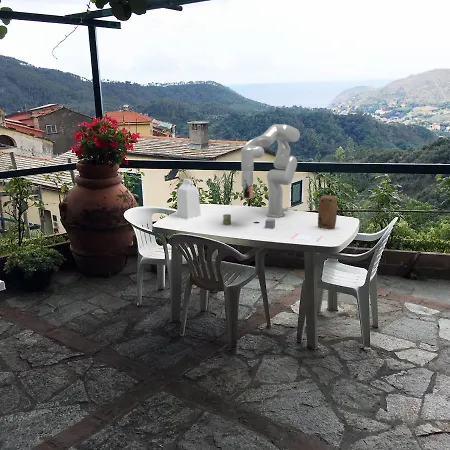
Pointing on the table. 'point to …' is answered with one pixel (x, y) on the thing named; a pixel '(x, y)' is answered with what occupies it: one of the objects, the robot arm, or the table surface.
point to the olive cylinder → (227, 219)
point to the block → (327, 211)
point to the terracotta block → (249, 192)
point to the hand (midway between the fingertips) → (248, 196)
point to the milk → (188, 200)
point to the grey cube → (270, 223)
